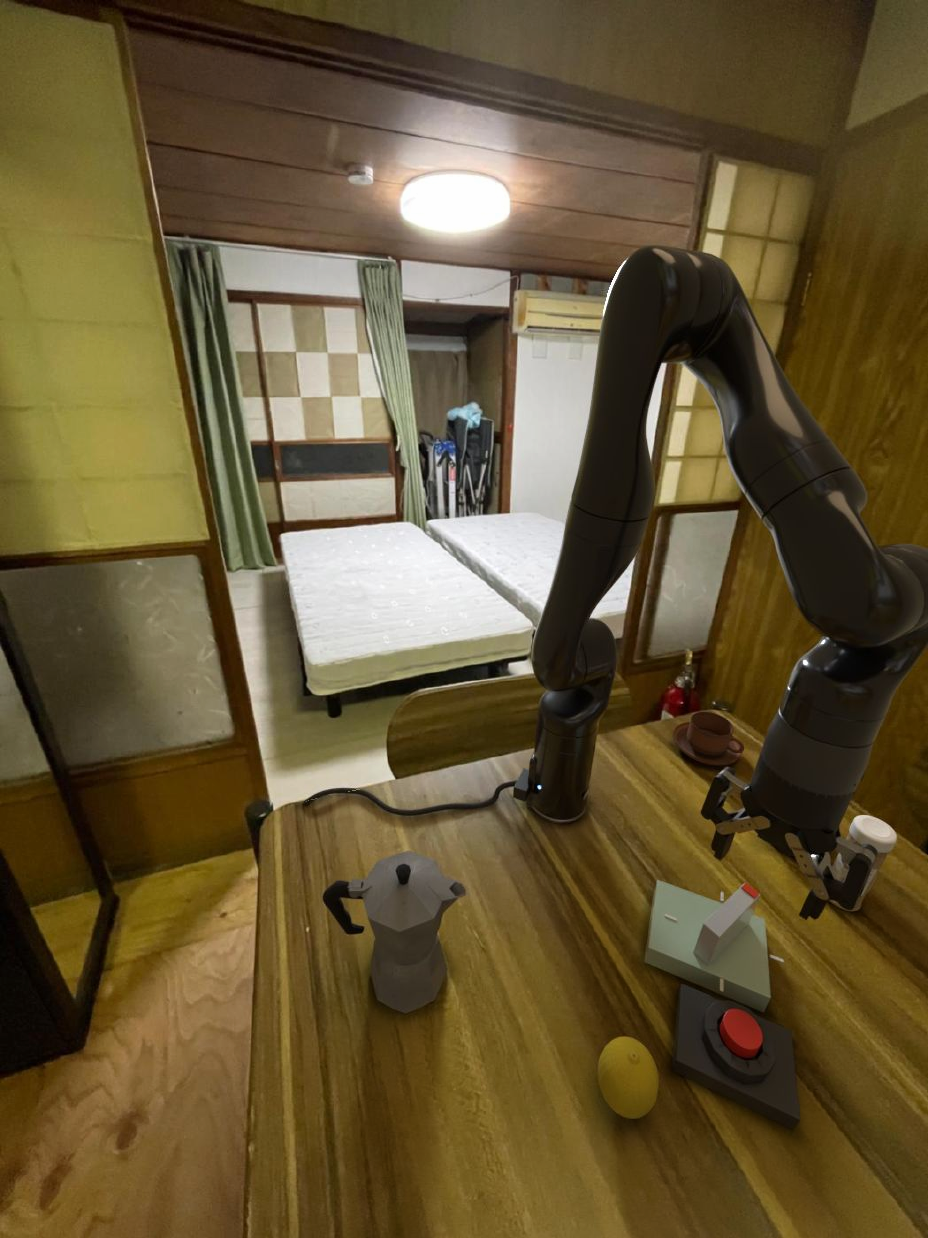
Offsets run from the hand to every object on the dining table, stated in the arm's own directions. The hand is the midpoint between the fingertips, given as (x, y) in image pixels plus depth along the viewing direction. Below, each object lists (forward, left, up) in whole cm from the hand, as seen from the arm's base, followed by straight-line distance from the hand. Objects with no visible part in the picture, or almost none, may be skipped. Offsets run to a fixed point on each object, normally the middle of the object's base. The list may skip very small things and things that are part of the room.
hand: (761, 882), depth 53 cm
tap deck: (-2, +3, -17) cm, 18 cm away
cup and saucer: (-3, +44, -17) cm, 47 cm away
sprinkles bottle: (+15, +19, -17) cm, 29 cm away
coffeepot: (-35, -15, -17) cm, 42 cm away
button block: (+1, -8, -17) cm, 19 cm away
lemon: (-9, -16, -17) cm, 25 cm away
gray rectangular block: (-1, +3, -14) cm, 14 cm away
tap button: (+1, -8, -14) cm, 16 cm away
